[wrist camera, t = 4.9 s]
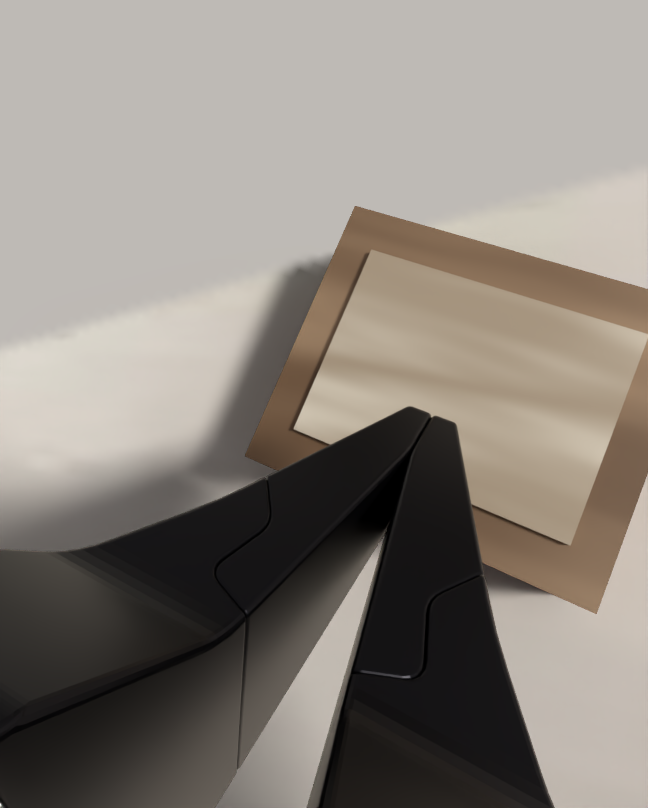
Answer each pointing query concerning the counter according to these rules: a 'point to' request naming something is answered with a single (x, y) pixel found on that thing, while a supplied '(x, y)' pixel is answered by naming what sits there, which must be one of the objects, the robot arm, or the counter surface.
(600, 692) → the counter surface
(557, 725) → the counter surface
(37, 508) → the counter surface
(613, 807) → the counter surface
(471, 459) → the walnut block
